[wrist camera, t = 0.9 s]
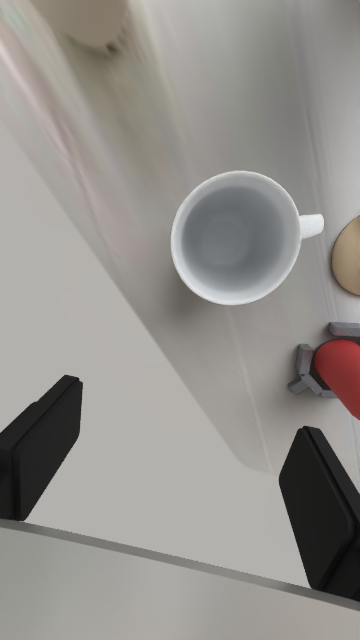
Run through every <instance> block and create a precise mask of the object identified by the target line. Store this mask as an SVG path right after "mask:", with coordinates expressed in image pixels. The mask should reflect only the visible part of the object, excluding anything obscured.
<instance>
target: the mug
mask: <svg viewBox="0 0 360 640" xmlns="http://www.w3.org/2000/svg"><path fill="white" fill-rule="evenodd" d="M323 227H324V219H323V216H322V215H321V214H308V215H302V216H299V213H298V210H297V208H296V205H295V203H294V201H293V200H292V198H291V196H290V195H289V194H288V193H287V191H286V190H285V189H284V188H283V187H282V186H280V185H279V184H278V183H277V182H275V181H274V180H272V179H271V178H269V177H267V176H264V175H262V174H259V173H255V172H250V171H231V172H226V173H222V174H219V175H216V176H214V177H212V178H210V179H208V180H206V181H204V182H203V183H201V184H200V185H199V186H197V187H196V188H195V189H194V190H193V191H192V192H191V193H190V194H189V195H188V196H187V197H186V198H185V200H184V201H183V202H182V204H181V206H180V207H179V209H178V211H177V213H176V216H175V218H174V221H173V225H172V229H171V236H170V248H171V255H172V260H173V263H174V266H175V268H176V271H177V273H178V274H179V276H180V278H181V279H182V281H183V282H184V283H185V284H186V286H187V287H188V288H189V289H190V290H191V291H193V292H194V293H195V294H196V295H198V296H199V297H201V298H203V299H205V300H207V301H210V302H212V303H216V304H221V305H242V304H247V303H251V302H254V301H256V300H259V299H261V298H263V297H265V296H266V295H268V294H269V293H271V292H272V291H273V290H275V289H276V288H277V287H278V286H279V285H280V284H281V283H282V282H283V281H284V280H285V278H286V277H287V276H288V274H289V273H290V271H291V269H292V268H293V266H294V264H295V262H296V259H297V257H298V254H299V250H300V245H301V240H303V239H307V238H310V237H312V236H315V235H318V234H320V233H321V232H322V230H323Z"/></svg>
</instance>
